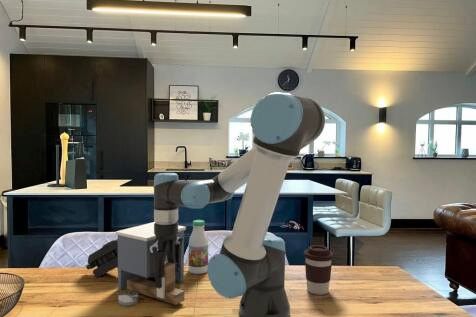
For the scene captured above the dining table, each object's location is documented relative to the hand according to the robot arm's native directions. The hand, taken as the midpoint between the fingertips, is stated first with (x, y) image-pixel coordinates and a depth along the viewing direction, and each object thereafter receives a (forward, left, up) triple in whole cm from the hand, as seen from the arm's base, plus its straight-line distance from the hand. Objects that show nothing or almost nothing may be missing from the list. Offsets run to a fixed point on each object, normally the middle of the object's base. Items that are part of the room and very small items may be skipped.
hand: (166, 294), depth 114 cm
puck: (+9, +7, -2) cm, 12 cm away
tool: (+32, -5, -2) cm, 33 cm away
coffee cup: (-38, -35, -2) cm, 51 cm away
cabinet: (+13, -7, -2) cm, 15 cm away
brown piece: (+5, 0, -1) cm, 5 cm away
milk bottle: (+8, -27, -2) cm, 28 cm away
